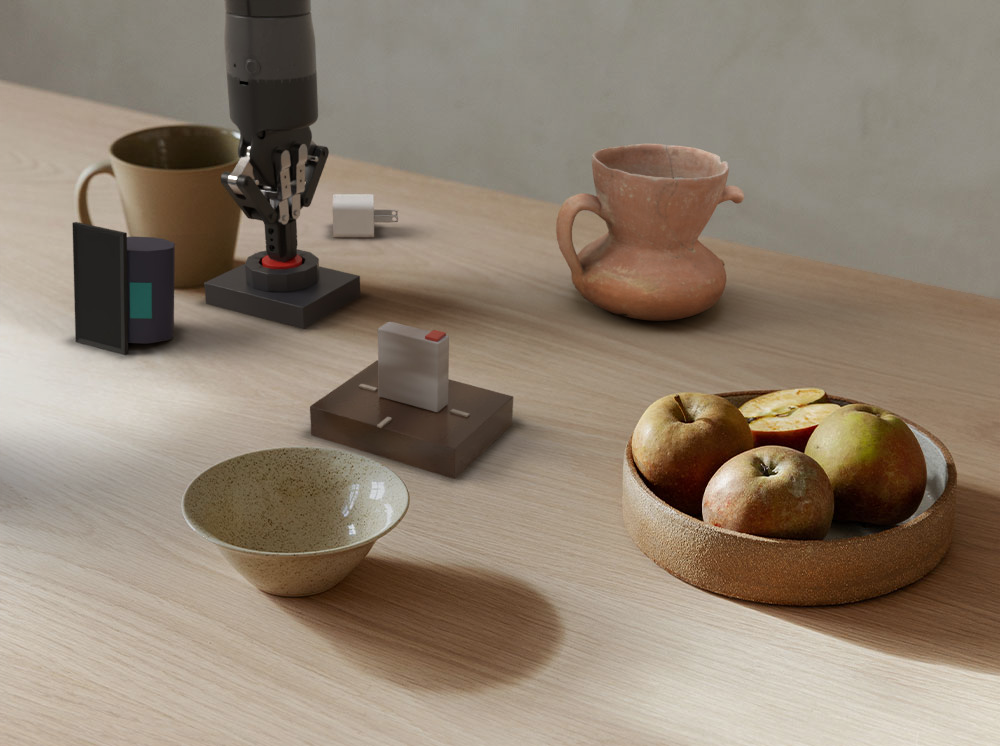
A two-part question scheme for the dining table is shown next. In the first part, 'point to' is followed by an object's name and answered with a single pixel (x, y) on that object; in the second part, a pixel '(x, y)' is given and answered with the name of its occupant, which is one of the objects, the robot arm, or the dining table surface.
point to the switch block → (283, 290)
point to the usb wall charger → (357, 216)
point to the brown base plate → (413, 423)
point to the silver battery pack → (413, 366)
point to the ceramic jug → (649, 231)
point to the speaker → (122, 288)
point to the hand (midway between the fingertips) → (282, 258)
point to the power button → (281, 263)
